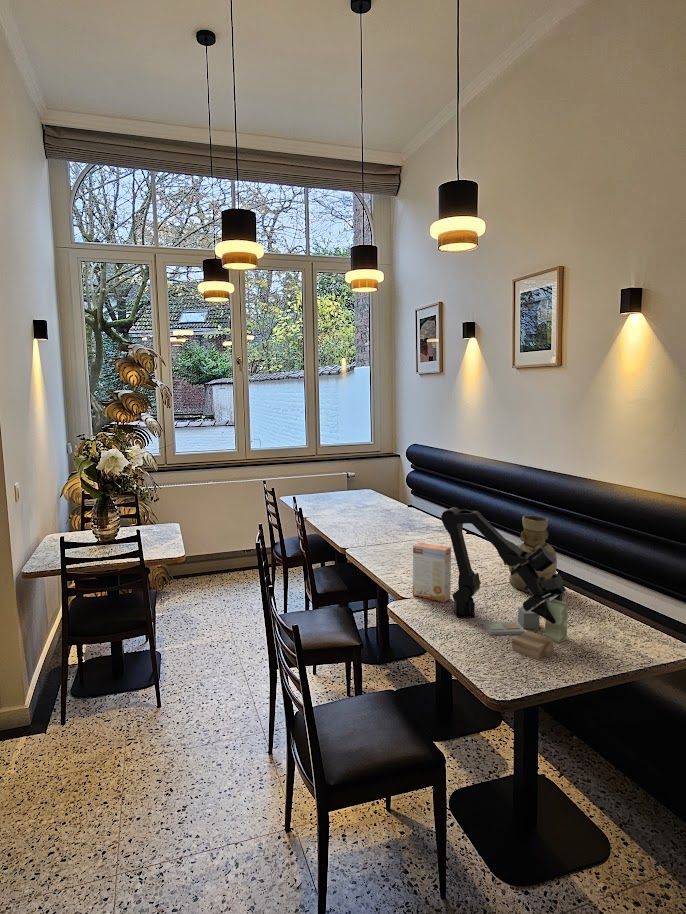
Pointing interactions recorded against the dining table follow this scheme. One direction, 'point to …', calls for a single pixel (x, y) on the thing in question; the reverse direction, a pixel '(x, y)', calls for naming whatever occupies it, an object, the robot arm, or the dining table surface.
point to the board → (503, 628)
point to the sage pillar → (557, 621)
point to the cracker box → (432, 571)
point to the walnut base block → (532, 644)
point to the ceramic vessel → (534, 547)
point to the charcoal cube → (528, 618)
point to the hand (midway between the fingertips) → (560, 620)
